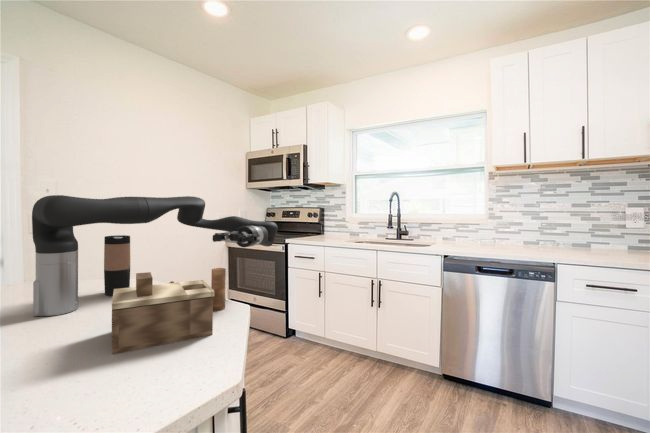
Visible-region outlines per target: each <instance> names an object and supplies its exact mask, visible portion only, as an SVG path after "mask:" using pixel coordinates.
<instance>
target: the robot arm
mask: <svg viewBox="0 0 650 433" xmlns="http://www.w3.org/2000/svg"><path fill="white" fill-rule="evenodd" d="M205 208H206V202H205V200H204V199H203V198H201V197H197V196H190V195H189V196H188V195H187V196H184V195H183V196H168V197H151V196H118V197H116V196H115V197H110V198H109V197H108V198H87V197H79V196H77V197H76V196H70V195H64V194H61V195H60V194H58V195H57V194H54V195H46V196H43V197H41V198H38V200H37V201H36V202H35V203H34V205H33V207H32V210H31V228H32V229H31V231H32V232H31V233H32V242H33V243H34V247H35V248H34V249H35V280H34V281H33V286H32V287H33V288H32V290H33V291H32V292H33V293H32V295H33V296H32V298H33V300H32V301H33V302H32V303H33V304H32V307H33V308H32V310H33V313H32V314H33V315H32V317H49V316H59V315H64V314H67V313H72V312H74V311H76V310H78V308H79V242H78V240H77V239H76V237H75V234H74V227H79V226H85V225H93V224H114V225H115V224H116V225H136V224H137V225H138V224H148V223H151V222H154V221H156V220H157V219H160V218H161V217H162V216H164V215H166V214H168V213H169V212H172V211H174V210H177V209H178V211H177V215H176V216H177V217H176V219H177V221H178V222H179V223H180V224H182V225H184V226H185V225H186V226H189V227H194V228H201V229H206V230H207V229H208V230H215V231H223V232H215V233H214V234H213V235H212V242H214V243H215V242H225V243H232V244H233V243H234V244H237V246H239V247H241V248H249V247H254V246H257V245H261V246H263V247H268V248H269V247H272V246H273V245H274V242H275V240H276V237H277V233H278V230H279V227H278V225H277V223H276V222H274V221H269V220H267V221H265V220H264V221H262V220H260V221H259V220H251V219H248V218H244V217H242V216H241V217H240V216H238V215H237V216H232V215H231V216H226V217H222V218H217V219H205V218H204V213H205Z"/></svg>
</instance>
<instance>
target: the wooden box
mask: <svg viewBox="0 0 650 433" xmlns="http://www.w3.org/2000/svg"><path fill="white" fill-rule="evenodd" d="M198 289H201V288H198ZM189 290H193V289H189ZM213 315H214V312H213V297H205V298H197V299H190V300H182V301H175V302H167V303H160V304H152V305H144V306H137V307H129V308H122V309H114V310H112V309H111V355H116V354H121V353H126V352H132V351H135V350H136V351H137V350H140V349H141V350H142V349H146V348H151V347H157V346H160V345H161V346H162V345H168V344H171V343H177V342H181V341H186V340H192V339H198V338H202V337H207V336H212V335H213V331H214V330H213V325H214V324H213V323H214V322H213Z"/></svg>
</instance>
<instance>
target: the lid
mask: <svg viewBox="0 0 650 433" xmlns="http://www.w3.org/2000/svg"><path fill="white" fill-rule="evenodd" d="M135 275H136V276H135V277H136V278H135V283H136V284H135V286H131V287H129V288H119V289H114V292H113V296H112V300H111V311H112V310H114V309H122V308H129V307H137V306H144V305H152V304H160V303H167V302H175V301H182V300H190V299H197V298H205V297H212V296H214V290H213V289H212V288H211V286H210V285H208V284H207V283H206V282H205V281H204V280H203V279H201V280H200V279H199V280H189V281H188V280H187V281H181V282H174V283H170V282H168V283H160V284H153V282H154V280H153V279H154V278H153V275H152V272H150V271H149V272H148V271H147V272H138V273H135ZM198 288H201V289H198ZM189 289H193V290H189Z"/></svg>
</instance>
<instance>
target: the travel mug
mask: <svg viewBox="0 0 650 433" xmlns="http://www.w3.org/2000/svg"><path fill="white" fill-rule="evenodd" d="M103 239H104V242H103V243H104V244H103V245H104V249H103V252H104V253H103V256H104V257H103V273H104V274H103V275H104V276H103V280H104V283H103V284H104V295H105V296H106V297H113V292H114V289H119V288H129V287H130V286H131V285H130V284H131V283H130V282H131V235H125V234H123V235H121V234H120V235H119V234H118V235H105V236H104V238H103Z"/></svg>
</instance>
